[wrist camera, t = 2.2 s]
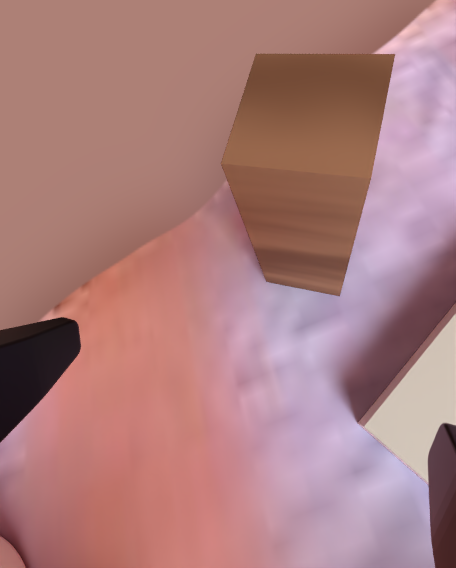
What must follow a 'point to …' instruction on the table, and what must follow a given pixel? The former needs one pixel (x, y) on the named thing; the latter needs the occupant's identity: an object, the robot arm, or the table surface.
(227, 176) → the brown wooden block
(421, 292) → the table surface
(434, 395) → the plate
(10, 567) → the fruit juice
